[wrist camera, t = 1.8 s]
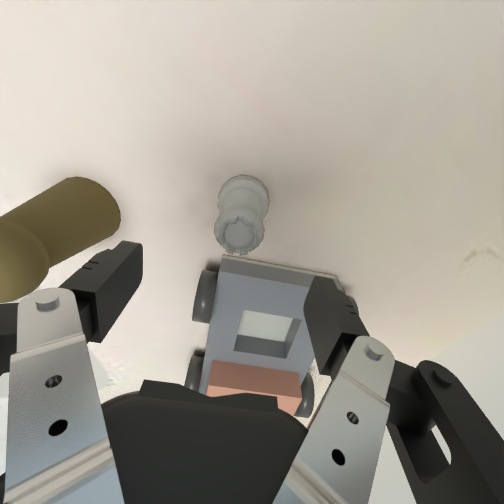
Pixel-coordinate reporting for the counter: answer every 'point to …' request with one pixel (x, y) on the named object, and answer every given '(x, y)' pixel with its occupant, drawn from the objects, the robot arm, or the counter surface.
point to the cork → (52, 232)
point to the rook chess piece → (241, 214)
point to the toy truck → (256, 333)
